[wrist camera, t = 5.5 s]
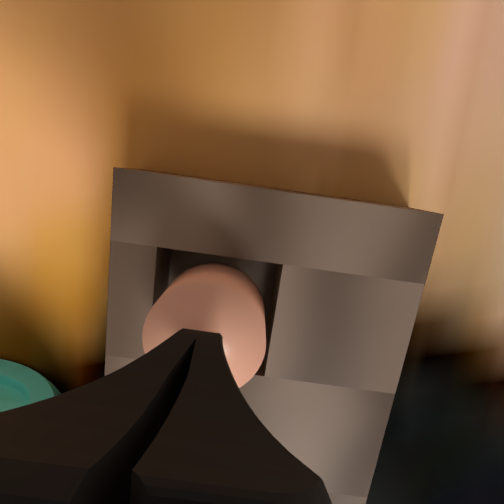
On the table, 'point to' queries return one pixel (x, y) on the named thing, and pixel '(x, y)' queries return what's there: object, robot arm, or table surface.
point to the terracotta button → (213, 314)
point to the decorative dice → (22, 386)
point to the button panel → (285, 301)
